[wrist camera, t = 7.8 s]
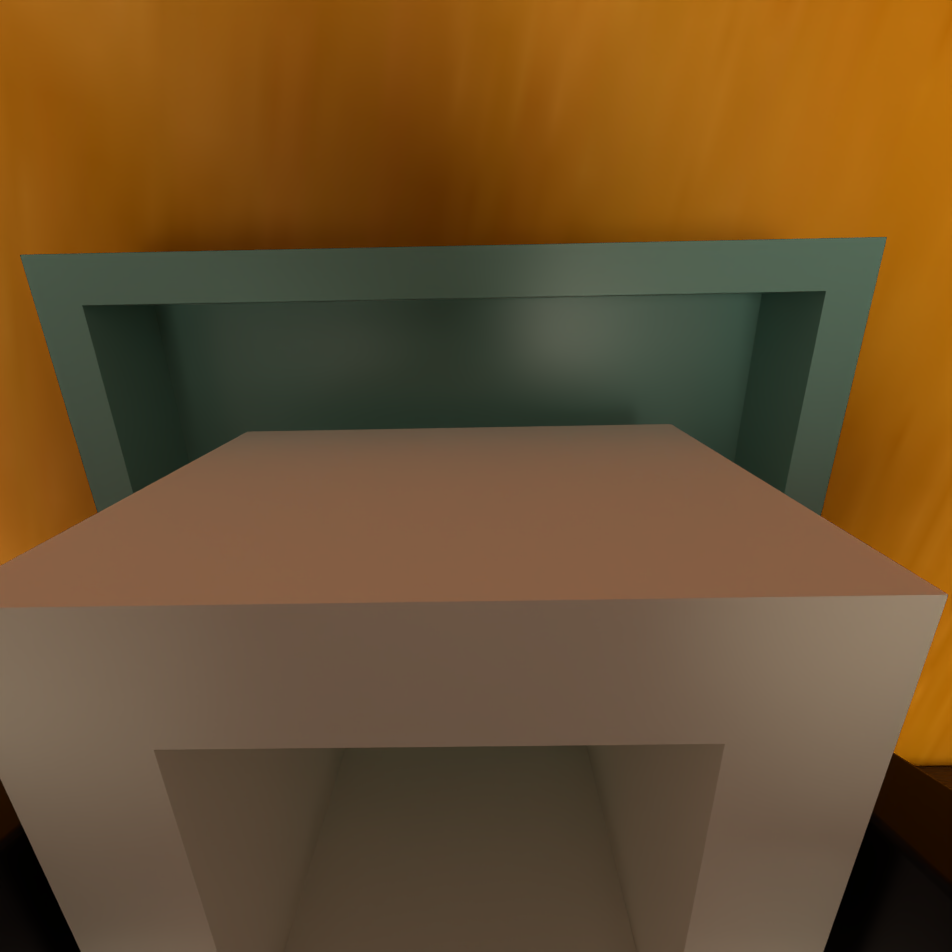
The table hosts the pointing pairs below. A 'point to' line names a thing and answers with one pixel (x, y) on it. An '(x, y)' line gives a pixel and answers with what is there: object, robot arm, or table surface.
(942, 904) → the robot arm
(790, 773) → the collar
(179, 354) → the tray
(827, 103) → the table surface
